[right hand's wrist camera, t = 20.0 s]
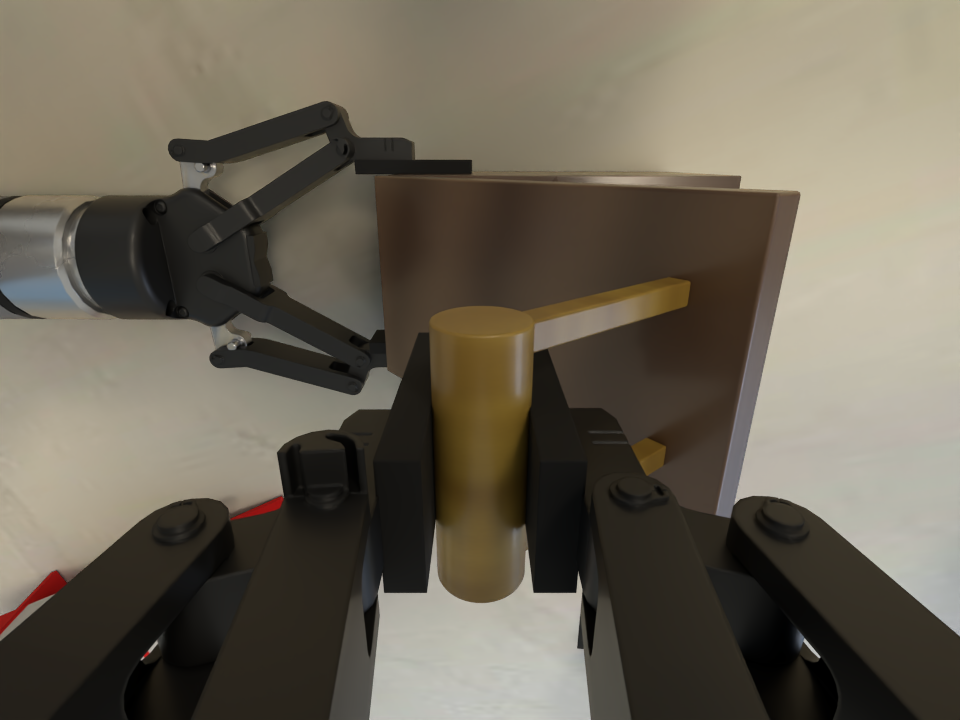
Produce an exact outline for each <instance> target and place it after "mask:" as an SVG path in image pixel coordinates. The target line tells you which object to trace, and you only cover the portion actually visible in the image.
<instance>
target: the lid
mask: <svg viewBox="0 0 960 720" xmlns="http://www.w3.org/2000/svg"><path fill="white" fill-rule="evenodd" d="M374 179H375V194H376V208H377V223H378V238H379V253H380V267H381V282H382V297H383V311H384V326H385V341H386V356H387V369H388V371H390V372H392V373H393V374H395V375H397V376H398V377H400V378H402V377H403V375H404V372H405V369H406V366H407V363H408V361H409V358H410V355H411V352H412V349H413V347H414V344H415V341H416V338H417V335H418V333H419V332H429V341H430V369H431V397H432V425H433V453H434V481H435V509H436V538H437V566H438V576H439V579H440V581H441V583H442V585H443V586H444V587H445V589H446V590H447V591H448V592H450V593H451V594H452V595H454V596H455V597H457V598H459V599H462V600H465V601H469V602H475V603H489V602H494V601H497V600H501V599H503V598H505V597H507V596H509V595H510V594H511V593H513V592H514V591H515V590H516V589H517V588H518V586H519V585H520V584H521V582H522V580H523V577H524V571H525V551H526V550H528V543H527V534H526V526H525V517H526V491H527V466H528V440H529V415H530V407H531V403H532V380H533V356H534V353H536V352H539V351H542V350H545V349H548V351H549V354H550V357H551V359H552V362H553V365H554V368H555V371H556V373H557V376H558V379H559V382H560V385H561V387H562V390H563V393H564V396H565V399H566V401H567V404H568V407H569V408H602V409H604V410H605V411H607V412H608V413H609V414H611V415H612V416H613V417H615V418H616V419H617V421H618V423H619V425H620V426H621V428H622V430H623V434H625V436H626V438H627V440H628V444H630V445H631V447H632V449H633V451H634V453H635V455H636V457H637V459H638V461H639V462H640V464H641V466H642V468H643V470H644V472H645V474H646V476H649V477H652V478H654V479H657V480H658V481H660V482H661V483H663V484H664V485H666V486H667V487H669V488H670V490H671V491H672V492H673V494H674V495H675V497H676V499H677V501H678V503H679V505H680V506H682V507H684V508H687V509H691V510H695V511H698V512H703V513H708V514H713V515H718V516H722V517H727V518H731V513H732V509H733V506H734V502H735V498H736V493H737V488H738V484H739V479H740V474H741V470H742V465H743V460H744V456H745V451H746V446H747V442H748V437H749V432H750V428H751V423H752V418H753V414H754V409H755V404H756V400H757V395H758V391H759V386H760V381H761V377H762V372H763V367H764V363H765V358H766V353H767V349H768V344H769V339H770V335H771V330H772V325H773V321H774V316H775V311H776V307H777V302H778V297H779V293H780V288H781V283H782V279H783V274H784V270H785V265H786V260H787V256H788V251H789V246H790V242H791V237H792V232H793V228H794V223H795V218H796V214H797V209H798V204H799V200H800V192H798V191H783V190H758V189H732V188H706V187H680V186H654V185H628V184H603V183H577V182H551V181H525V180H499V179H474V178H448V177H422V176H396V175H394V176H375V178H374Z"/></svg>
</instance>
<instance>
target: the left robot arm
mask: <svg viewBox="0 0 960 720" xmlns="http://www.w3.org/2000/svg"><path fill="white" fill-rule="evenodd" d="M325 133H326V134H327V136H328V138H329V141H330V143H329V144H327V145H326V146H324V147H323V148H321V149H320V150H319V151H317V152H316V153H314V154H313V155H311V156H310V157H308V158H307V159H305V160H304V161H302V162H301V163H299V164H298V165H296V166H295V167H293V168H292V169H290V170H289V171H287V172H286V173H284V174H283V175H281V176H280V177H278V178H277V179H275V180H274V181H272V182H271V183H269V184H268V185H266V186H265V187H263V188H262V189H260V190H259V191H258V192H256V193H255V194H253V195H252V196H250V197H248V198H246V199H244V200H242V201H240V202H238V203H237V204H235V205H234V206H233V205H232V204H230V203H229V202H227V201H226V200H225V199H223V198H222V197H220V196H219V195H217V194H216V193H214V192H213V191H211V190H209V189H208V183H209V181H210V180H211V179H212V178H215V177H219V176H220V175H221V174H222V173H223V169H224V166H223V163H236V162H240V161H244V160H247V159H250V158H253V157H256V156H259V155H262V154H265V153H268V152H271V151H274V150H277V149H280V148H283V147H286V146H289V145H292V144H295V143H298V142H301V141H304V140H307V139H310V138H313V137H316V136H319V135H322V134H325ZM168 151H169V154H170V155H171V157H172V158H173V159H175V160H176V161H179V162H180V167H181V174H182V181H183V189H181V190H179V191H178V192H176V193H175V194H173V195H170V196H103V197H101V198H100V197H97V196H77V195H25V196H11V197H0V319H114V318H121V319H191V320H195V321H198V322H201V323H203V324H205V325H207V326H210V328H211V332H212V336H213V340H214V344H215V348H216V350H215V351H214V352H212V353H211V354H210V362H211V364H212V365H213V366H215V367H217V368H235V367H249V368H253V369H256V370H260V371H264V372H268V373H271V374H275V375H279V376H283V377H286V378H290V379H294V380H298V381H302V382H305V383H309V384H313V385H317V386H320V387H324V388H328V389H332V390H335V391H339V392H343V393H347V394H350V395H356V394H358V393H360V392H361V390H362V388H363V386H364V384H365V382H366V380H367V378H368V376H369V372H370V370H371V369H372V368H375V367H387V356H386V341H385V330H377V331H376V332H375V334H374V336H373V337H372V339H371V340H369V339H367V338H365V337H363V336H361V335H359V334H357V333H355V332H353V331H352V330H350V329H348V328H346V327H344V326H342V325H340V324H338V323H337V322H335V321H333V320H331V319H329V318H327V317H325V316H323V315H322V314H320V313H318V312H316V311H314V310H312V309H310V308H308V307H307V306H305V305H303V304H301V303H299V302H297V301H295V300H293V299H292V298H290V297H289V296H288V295H287V293H286V292H284V291H283V290H281V289H279V288H277V287H275V286H273V285H271V284H270V282H271V281H273V276H272V269H271V266H270V264H269V261H268V259H267V248H268V241H267V234H266V232H263V231H262V229H261V227H260V226H259V225H261V224H262V223H264V222H265V221H267V220H268V219H270V218H271V217H273V216H274V215H275V214H276V213H277V212H279V211H280V210H282V209H283V208H285V207H286V206H288V205H289V204H291V203H292V202H294V201H295V200H297V199H298V198H300V197H301V196H303V195H304V194H306V193H307V192H309V191H310V190H312V189H314V188H315V187H317V186H318V185H320V184H321V183H323V182H324V181H326V180H327V179H329V178H330V177H332V176H333V175H335V174H336V173H338V172H339V171H341V170H342V169H344V168H346V167H347V166H349V165H350V164H352V163H353V162H355V172H356V174H472V160H415V147H414V142H412V141H409V140H407V139H404V138H361V137H359V136H357V135H356V134H355V132H354V131H353V129H352V127H351V124H350V122H349V117H348V113H347V111H346V110H345V109H344V108H343V107H341V106H339V105H336V104H334V103H331V102H328V101H324V102H320V103H317V104H315V105H312V106H309V107H306V108H303V109H300V110H297V111H294V112H291V113H288V114H285V115H282V116H279V117H276V118H273V119H270V120H267V121H264V122H262V123H259V124H256V125H253V126H250V127H247V128H244V129H241V130H238V131H235V132H232V133H229V134H226V135H223V136H220V137H217V138H214V139H211V140H209V141H205V140H190V139H173V140H172V141H170V143H169V145H168ZM240 313H243V314H245V315H247V316H249V317H250V318H252V319H254V320H256V321H259V322H267V323H270V324H272V325H274V326H276V327H277V328H279V329H281V330H283V331H285V332H287V333H289V334H291V335H293V336H295V337H297V338H299V339H301V340H303V341H304V342H306V343H308V344H310V345H312V346H314V347H316V348H318V349H320V350H322V351H324V352H326V353H328V354H330V355H331V356H333V357H331V356H327V355H324V354H320V353H316V352H313V351H309V350H305V349H302V348H298V347H294V346H291V345H287V344H283V343H280V342H276V341H272V340H268V339H263V338H251V333H249V332H248V331H243V330H239V329H237V328H235V327H234V326H233V324H232V322H231V320H233V319H234V318H235V317H236V316H238V315H239V314H240Z"/></svg>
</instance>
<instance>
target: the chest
mask: <svg viewBox="0 0 960 720" xmlns="http://www.w3.org/2000/svg"><path fill="white" fill-rule="evenodd" d="M394 175H396V176H422V177H448V178H474V179H499V180H525V181H551V182H577V183H603V184H628V185H654V186H680V187H706V188H732V189H739V187H740V181H741V176H733V175H714V174H696V173H677V172H472V174H394ZM394 175H388V176H394Z"/></svg>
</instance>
